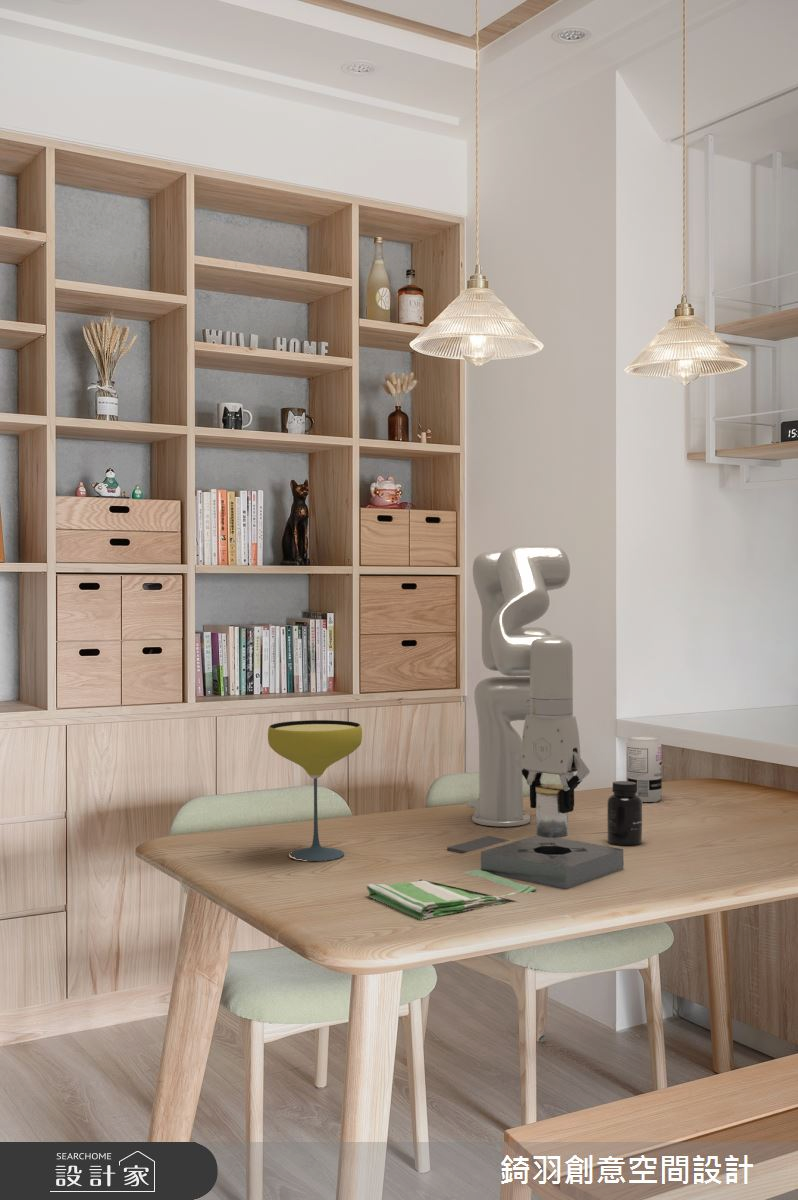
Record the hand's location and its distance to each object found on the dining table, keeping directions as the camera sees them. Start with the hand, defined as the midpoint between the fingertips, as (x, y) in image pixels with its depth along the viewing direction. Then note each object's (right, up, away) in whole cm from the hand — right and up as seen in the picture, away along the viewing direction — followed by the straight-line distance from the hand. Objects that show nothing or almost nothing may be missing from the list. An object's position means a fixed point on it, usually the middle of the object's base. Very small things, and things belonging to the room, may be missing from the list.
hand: (551, 808), depth 198 cm
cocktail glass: (-43, -12, +16) cm, 48 cm away
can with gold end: (0, -5, 0) cm, 5 cm away
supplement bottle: (+18, -12, +25) cm, 33 cm away
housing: (0, -12, 0) cm, 12 cm away
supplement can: (+32, -11, +70) cm, 78 cm away
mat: (-9, -12, +20) cm, 25 cm away
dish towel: (-19, -13, -13) cm, 26 cm away
